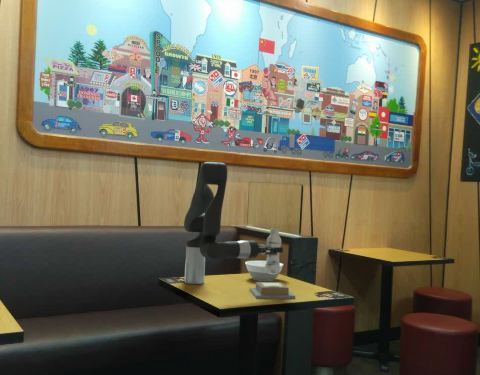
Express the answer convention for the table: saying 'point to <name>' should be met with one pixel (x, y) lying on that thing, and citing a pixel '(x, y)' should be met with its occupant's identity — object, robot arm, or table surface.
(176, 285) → the table surface
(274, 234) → the plastic bottle
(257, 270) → the bowl
